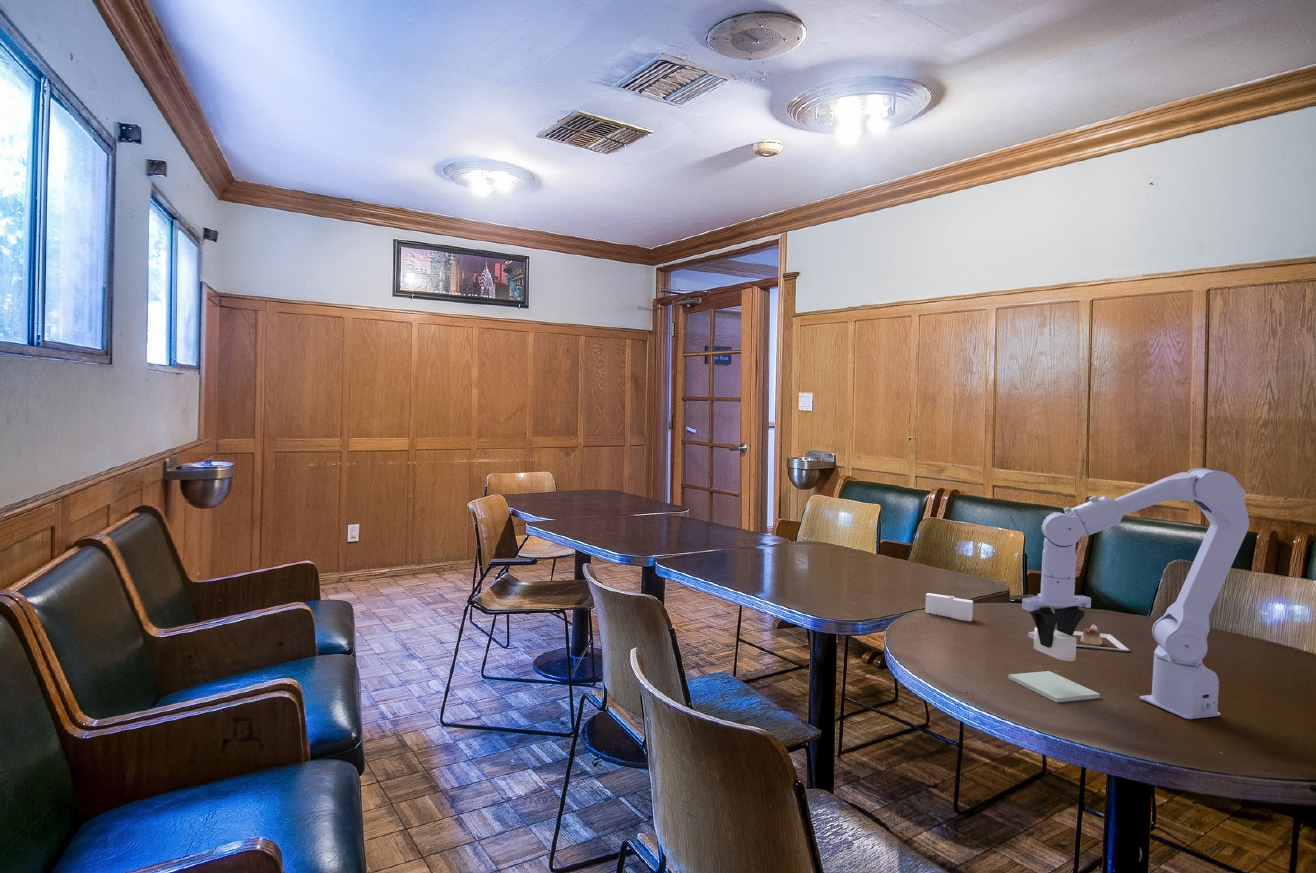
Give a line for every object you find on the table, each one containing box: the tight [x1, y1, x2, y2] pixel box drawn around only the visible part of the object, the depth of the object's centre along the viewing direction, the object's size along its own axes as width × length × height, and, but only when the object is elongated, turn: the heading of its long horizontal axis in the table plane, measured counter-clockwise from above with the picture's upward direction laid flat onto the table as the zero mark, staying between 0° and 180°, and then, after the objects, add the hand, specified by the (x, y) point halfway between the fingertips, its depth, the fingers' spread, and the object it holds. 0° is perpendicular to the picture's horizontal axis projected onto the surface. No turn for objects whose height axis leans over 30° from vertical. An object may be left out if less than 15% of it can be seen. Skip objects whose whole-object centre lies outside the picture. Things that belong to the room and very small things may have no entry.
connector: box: [1027, 626, 1077, 662], centre depth 140 cm, size 10×4×4 cm, turn 16°
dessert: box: [1073, 623, 1130, 652], centre depth 170 cm, size 12×12×5 cm
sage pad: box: [1007, 670, 1101, 703], centre depth 140 cm, size 12×10×1 cm
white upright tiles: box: [924, 592, 974, 622], centre depth 188 cm, size 15×11×6 cm
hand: (1054, 645), depth 140 cm, fingers closed on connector, 4 cm apart
